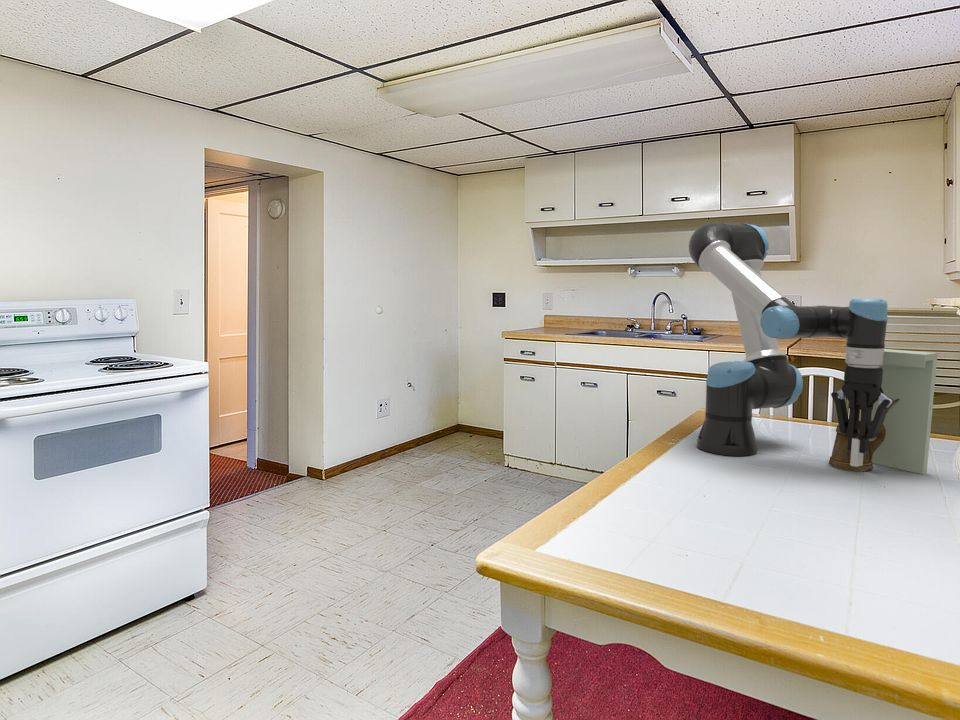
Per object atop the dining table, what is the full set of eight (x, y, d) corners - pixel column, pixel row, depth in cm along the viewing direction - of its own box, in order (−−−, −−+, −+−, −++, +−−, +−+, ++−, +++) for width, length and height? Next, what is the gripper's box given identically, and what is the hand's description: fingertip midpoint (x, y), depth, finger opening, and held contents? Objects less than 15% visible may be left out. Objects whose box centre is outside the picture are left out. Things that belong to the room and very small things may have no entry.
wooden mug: (891, 478, 141) (898, 401, 139) (825, 467, 150) (830, 394, 148) (896, 469, 148) (902, 395, 146) (832, 459, 157) (837, 389, 155)
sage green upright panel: (857, 464, 152) (865, 349, 149) (869, 460, 156) (878, 348, 153) (914, 477, 142) (925, 354, 139) (926, 472, 146) (937, 353, 142)
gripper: (826, 363, 145) (819, 461, 148) (886, 370, 135) (878, 474, 137) (843, 361, 149) (836, 456, 152) (903, 367, 139) (894, 469, 141)
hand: (856, 465), depth 145 cm, fingers closed
